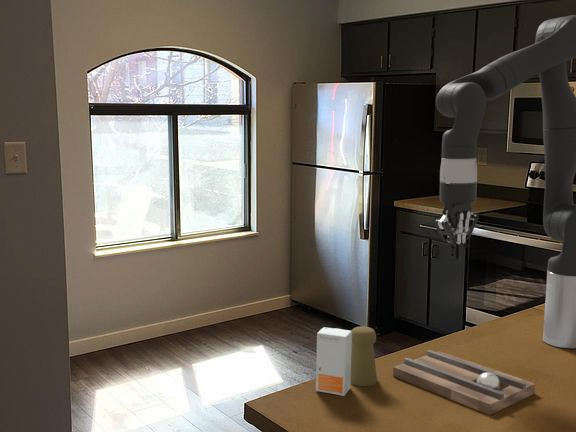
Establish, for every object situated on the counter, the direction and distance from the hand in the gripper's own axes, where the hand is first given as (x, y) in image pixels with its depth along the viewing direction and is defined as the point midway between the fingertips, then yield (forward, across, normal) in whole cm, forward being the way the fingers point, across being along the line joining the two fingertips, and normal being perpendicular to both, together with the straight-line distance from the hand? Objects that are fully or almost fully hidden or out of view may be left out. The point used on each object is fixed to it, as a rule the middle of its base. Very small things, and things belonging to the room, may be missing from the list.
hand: (456, 260), depth 140 cm
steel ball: (+20, +10, +15) cm, 27 cm away
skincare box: (+22, +31, -6) cm, 39 cm away
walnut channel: (+23, +9, +8) cm, 26 cm away
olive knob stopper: (+22, +23, -6) cm, 33 cm away
